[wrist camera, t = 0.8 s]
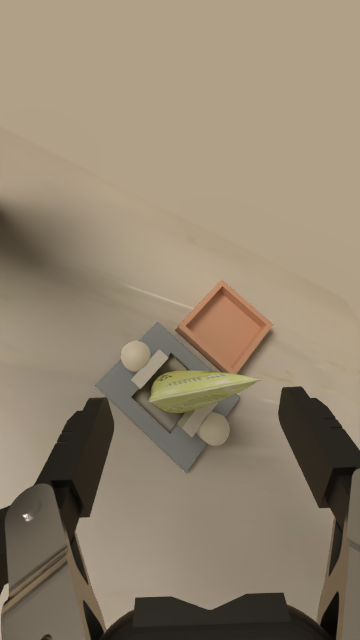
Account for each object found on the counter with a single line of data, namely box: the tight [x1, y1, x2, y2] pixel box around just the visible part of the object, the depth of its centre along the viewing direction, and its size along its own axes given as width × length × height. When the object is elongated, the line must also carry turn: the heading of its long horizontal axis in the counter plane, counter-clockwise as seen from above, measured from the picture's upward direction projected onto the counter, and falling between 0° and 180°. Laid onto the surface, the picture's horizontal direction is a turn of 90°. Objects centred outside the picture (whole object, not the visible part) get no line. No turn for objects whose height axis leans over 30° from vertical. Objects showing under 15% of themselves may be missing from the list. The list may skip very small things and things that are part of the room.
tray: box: [175, 280, 273, 374], centre depth 36 cm, size 11×11×2 cm
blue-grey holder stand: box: [95, 322, 240, 472], centre depth 31 cm, size 17×12×5 cm
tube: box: [149, 370, 261, 413], centre depth 24 cm, size 6×5×20 cm
